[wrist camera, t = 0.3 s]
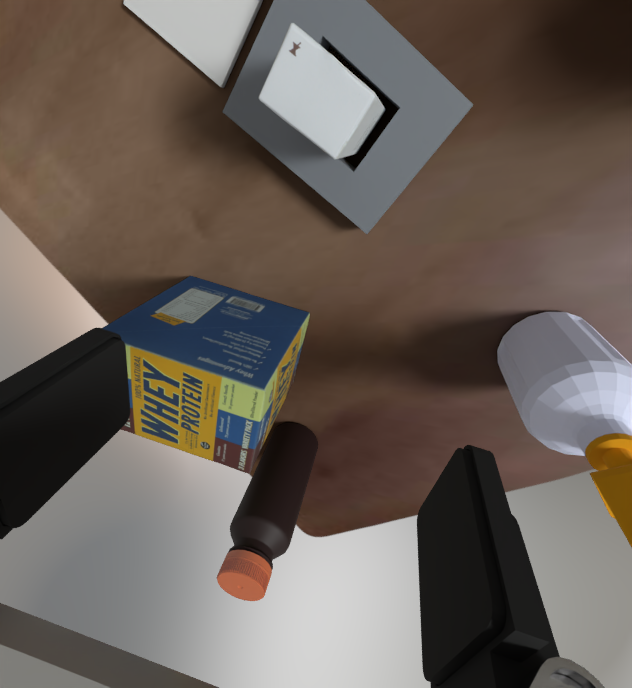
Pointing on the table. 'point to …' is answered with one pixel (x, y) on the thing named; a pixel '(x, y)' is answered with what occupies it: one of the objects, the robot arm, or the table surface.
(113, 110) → the table surface
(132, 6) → the white flat plate
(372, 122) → the skincare box
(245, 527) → the vinegar
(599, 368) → the soap bottle
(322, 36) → the slotted board
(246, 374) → the protein box
